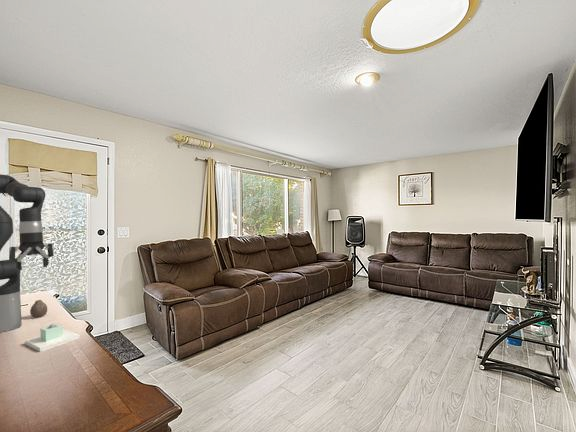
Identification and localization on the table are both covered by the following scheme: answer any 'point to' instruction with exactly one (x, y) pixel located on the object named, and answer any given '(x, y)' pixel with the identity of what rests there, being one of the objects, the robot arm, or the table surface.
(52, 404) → the table surface
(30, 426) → the table surface
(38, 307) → the vase
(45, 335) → the collar
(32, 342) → the plate
